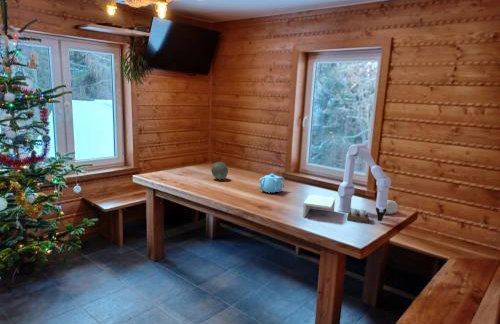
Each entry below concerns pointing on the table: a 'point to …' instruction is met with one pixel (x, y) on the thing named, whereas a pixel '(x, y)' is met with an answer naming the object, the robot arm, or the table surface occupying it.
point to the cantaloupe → (219, 170)
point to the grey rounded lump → (391, 207)
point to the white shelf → (318, 204)
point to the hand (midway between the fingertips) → (379, 220)
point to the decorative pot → (271, 183)
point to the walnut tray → (358, 216)
